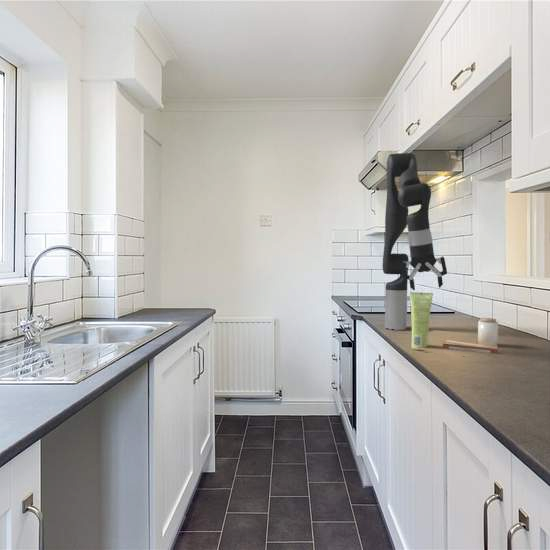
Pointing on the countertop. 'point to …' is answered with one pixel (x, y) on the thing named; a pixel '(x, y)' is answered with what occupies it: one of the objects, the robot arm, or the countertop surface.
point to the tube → (420, 318)
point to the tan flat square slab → (469, 346)
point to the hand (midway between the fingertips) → (426, 288)
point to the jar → (487, 332)
